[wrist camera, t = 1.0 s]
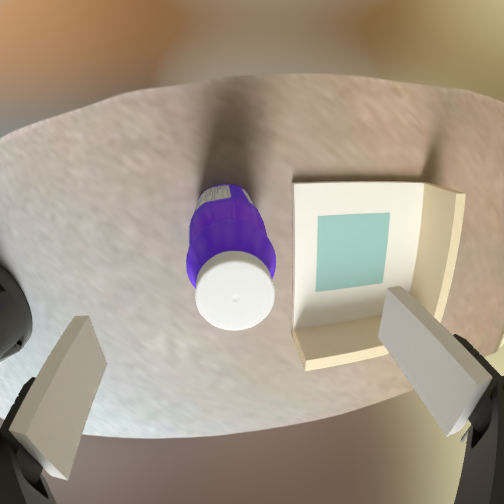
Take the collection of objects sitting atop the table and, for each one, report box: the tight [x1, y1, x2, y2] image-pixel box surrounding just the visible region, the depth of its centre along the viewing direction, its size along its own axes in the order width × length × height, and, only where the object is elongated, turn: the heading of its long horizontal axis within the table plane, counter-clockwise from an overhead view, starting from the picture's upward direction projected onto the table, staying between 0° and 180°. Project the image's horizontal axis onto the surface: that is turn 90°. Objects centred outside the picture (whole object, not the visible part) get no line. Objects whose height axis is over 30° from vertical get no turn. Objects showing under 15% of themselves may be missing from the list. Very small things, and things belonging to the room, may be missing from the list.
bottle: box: [186, 184, 276, 330], centre depth 23 cm, size 7×6×17 cm
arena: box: [292, 181, 466, 371], centre depth 31 cm, size 18×19×7 cm
